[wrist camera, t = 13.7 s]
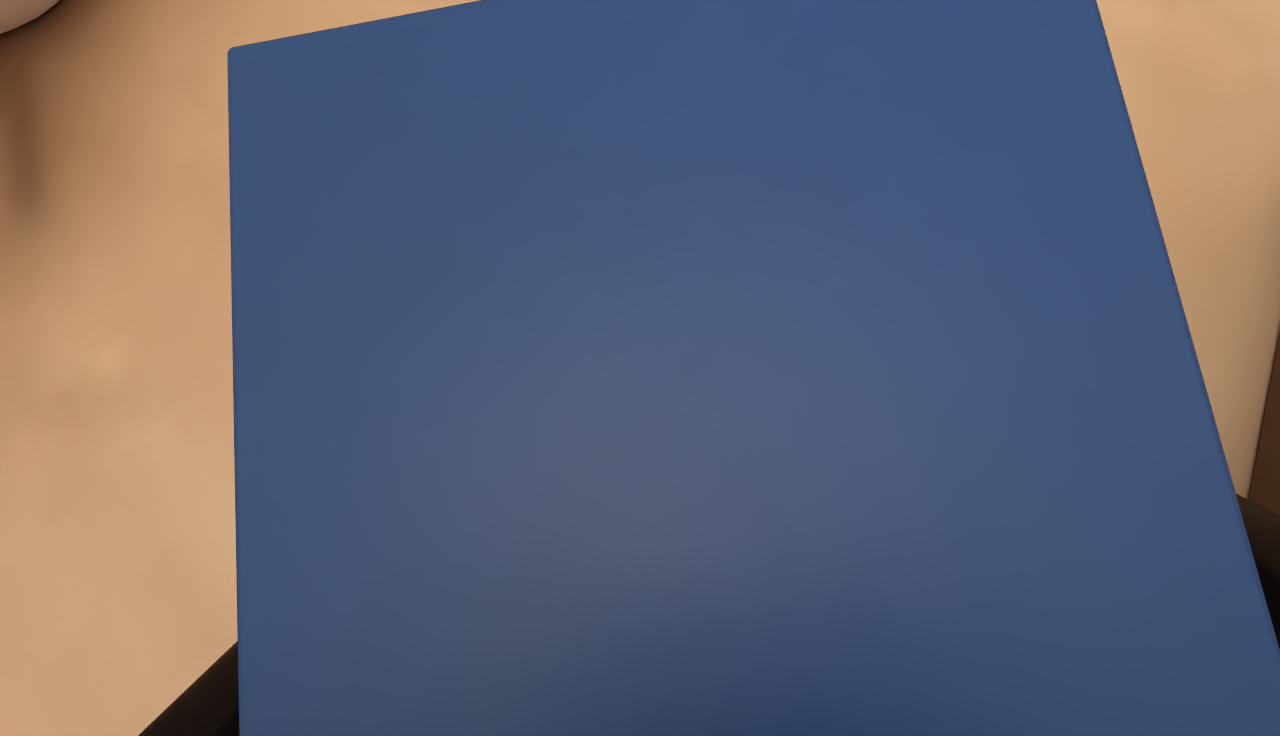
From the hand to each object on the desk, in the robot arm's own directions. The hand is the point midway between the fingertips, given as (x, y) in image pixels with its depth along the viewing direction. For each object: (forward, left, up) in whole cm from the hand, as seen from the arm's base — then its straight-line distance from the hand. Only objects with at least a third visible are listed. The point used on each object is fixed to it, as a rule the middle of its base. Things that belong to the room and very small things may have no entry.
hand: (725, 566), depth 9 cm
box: (+1, 0, -6) cm, 7 cm away
